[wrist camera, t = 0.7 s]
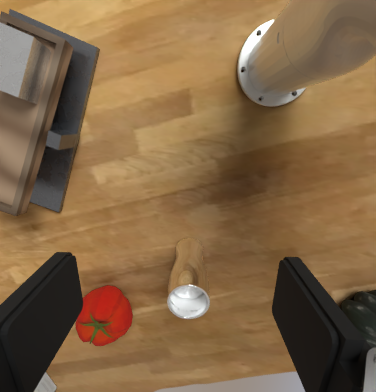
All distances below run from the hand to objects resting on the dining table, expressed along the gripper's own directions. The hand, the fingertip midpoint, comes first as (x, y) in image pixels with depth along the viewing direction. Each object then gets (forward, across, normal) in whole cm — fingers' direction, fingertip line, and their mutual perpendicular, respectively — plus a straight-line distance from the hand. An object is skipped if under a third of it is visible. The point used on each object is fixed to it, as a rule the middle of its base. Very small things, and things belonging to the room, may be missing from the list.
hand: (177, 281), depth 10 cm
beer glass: (+34, 0, +19) cm, 39 cm away
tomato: (+34, +18, +34) cm, 51 cm away
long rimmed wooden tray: (+29, +27, -6) cm, 40 cm away
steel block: (+28, +24, -14) cm, 40 cm away
